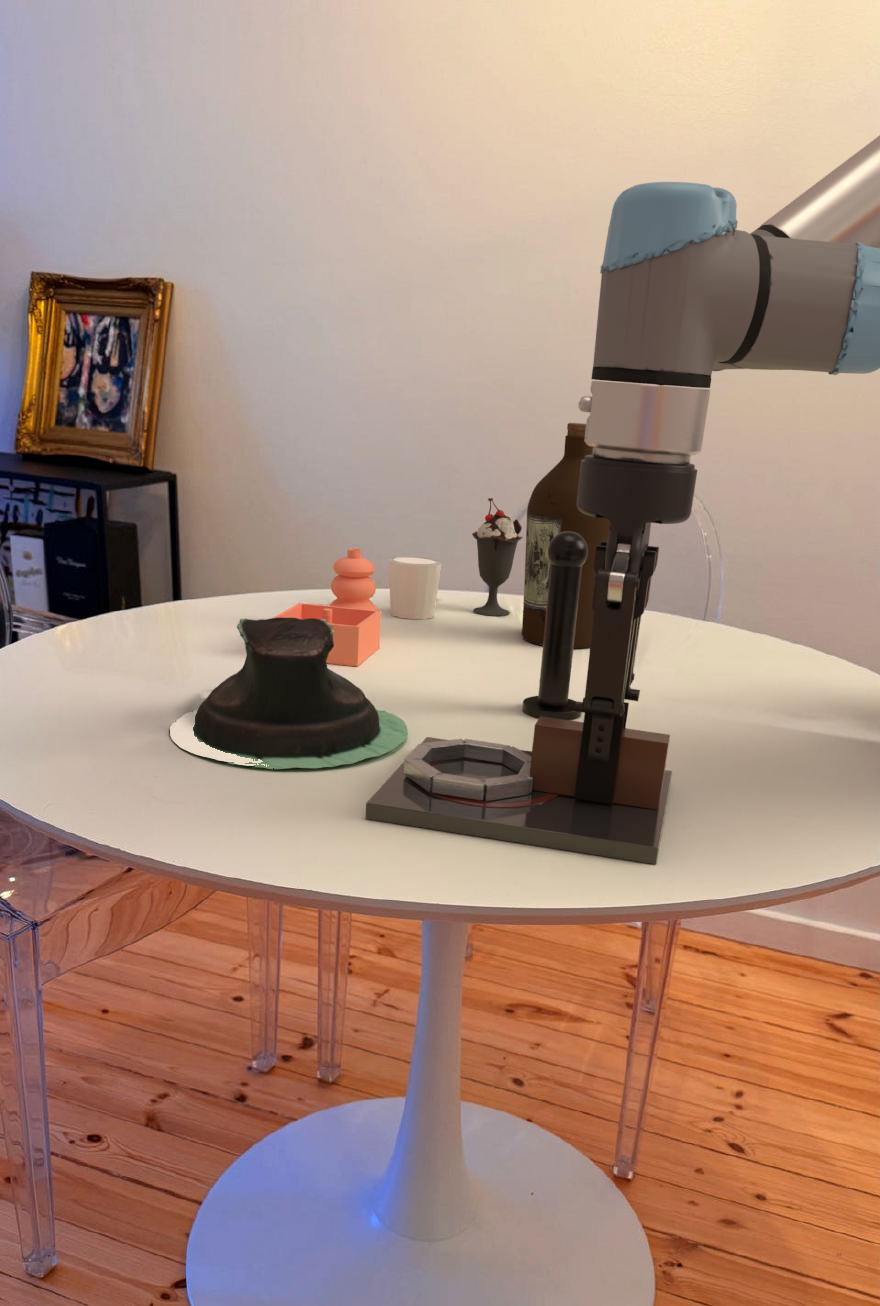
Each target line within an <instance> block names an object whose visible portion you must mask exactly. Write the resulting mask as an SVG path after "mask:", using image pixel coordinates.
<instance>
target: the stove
mask: <svg viewBox="0 0 880 1306" xmlns="http://www.w3.org/2000/svg"><path fill="white" fill-rule="evenodd" d="M446 740H447V739H444V738H436V737H431V736H430V737H429V736H426V737H425V738H424V739H423V740H422V741H421V743H428V742H437V741H446ZM520 750H521V751H523V752H524V753H526V754H528V755H530V756H532V750H530V751H529V750H524V749H520ZM404 764H405V760H404V761H403V762H402V763H401V764H400V766H399V767H398V768H397V769H396V770H395V771H394V772H393V773H392V774H391V775H390V776H389V777H388V779H387V780H386V781H385V782H384V783H383V784H382V785H381V786H380V787H379V788H378V789H377V791H376V792H375V793H374V794H373V795H372V796H371V797H370V798H369V799H368V800H367V802H366V803H365V819H366V820H371V821H377V822H378V821H379V822H384V823H392V824H398V825H403V826H410V827H415V828H416V827H417V828H422V829H428V830H436V831H441V832H446V833H447V832H449V833H453V834H459V835H460V834H461V835H468V836H473V837H480V838H486V839H493V840H498V841H499V840H500V841H505V842H511V843H518V844H524V845H531V846H536V847H543V848H549V849H556V850H561V851H569V852H575V853H580V854H587V855H588V854H589V855H594V856H600V857H607V858H613V859H619V860H625V861H633V862H638V863H645V864H651V865H657V862H658V857H659V851H660V847H661V846H660V845H661V840H662V835H663V828H664V823H665V817H666V811H667V806H668V800H669V795H670V788H671V783H672V774H673V770H668V769H665V773H664V779H663V786H662V792H661V799H660V804H659V809H658V810H655V809H648V808H642V807H636V806H629V805H623V804H617V803H612V804H606V803H600V802H594V801H587V800H581V799H575V798H574V797H573V796H566V795H560V794H554V793H547V792H541V791H535V790H533V791H532V793H529V795H524V796H517V797H511V798H504V799H497V800H491V801H485V800H484V799H483V801H479V800H473V799H467V798H461V797H455V796H448V795H442V794H436V793H432V792H428V791H427V790H425V789H424V788H423V787H421V786H420V785H418V784H417V783H415V782H414V781H413V780H411V779H410V778H408V777H407V776H405V775H404ZM429 765H430V766H432V767H434V768H435V769H437V770H438V771H440V772H441V773H444V774H451V775H457V776H463V777H470V778H476V779H490V778H497V777H504V776H511V775H518V774H519V773H517V772H515V771H514V770H512V769H510V768H509V767H507V766H505V765H503V764H502V763H496V762H489V761H483V760H476V759H470V758H457V759H450V760H442V761H434V762H430V764H429Z"/></svg>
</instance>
